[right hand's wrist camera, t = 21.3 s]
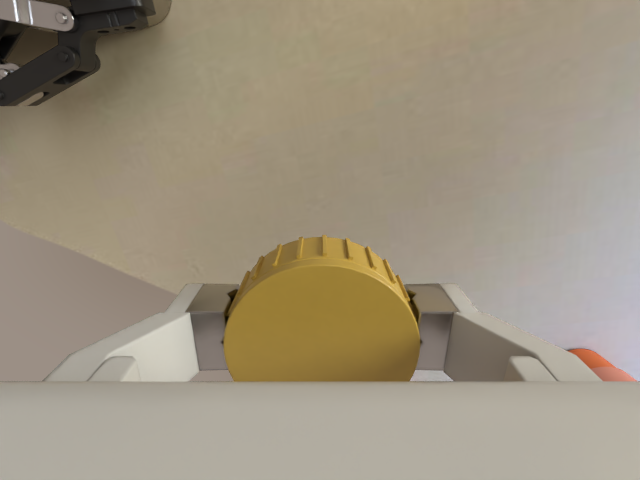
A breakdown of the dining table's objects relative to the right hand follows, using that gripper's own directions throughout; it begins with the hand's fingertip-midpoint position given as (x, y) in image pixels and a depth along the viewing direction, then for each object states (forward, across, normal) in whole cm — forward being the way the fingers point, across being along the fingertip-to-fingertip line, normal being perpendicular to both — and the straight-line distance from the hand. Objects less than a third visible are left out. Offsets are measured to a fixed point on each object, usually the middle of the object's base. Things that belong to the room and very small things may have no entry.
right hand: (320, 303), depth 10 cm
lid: (-2, 0, 0) cm, 2 cm away
